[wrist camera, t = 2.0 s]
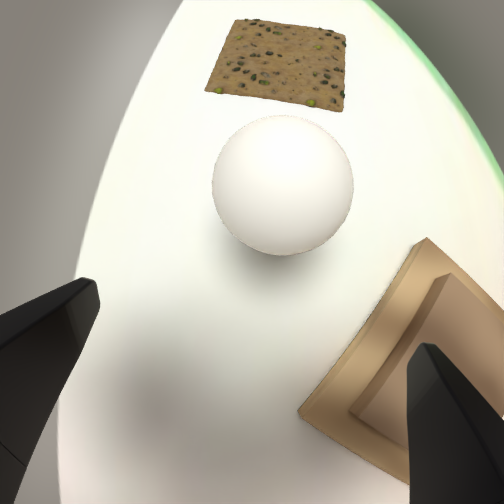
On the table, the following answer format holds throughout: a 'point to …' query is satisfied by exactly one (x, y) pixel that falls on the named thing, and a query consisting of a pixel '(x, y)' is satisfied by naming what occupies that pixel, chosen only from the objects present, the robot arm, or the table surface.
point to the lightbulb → (282, 185)
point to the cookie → (282, 64)
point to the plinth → (375, 352)
